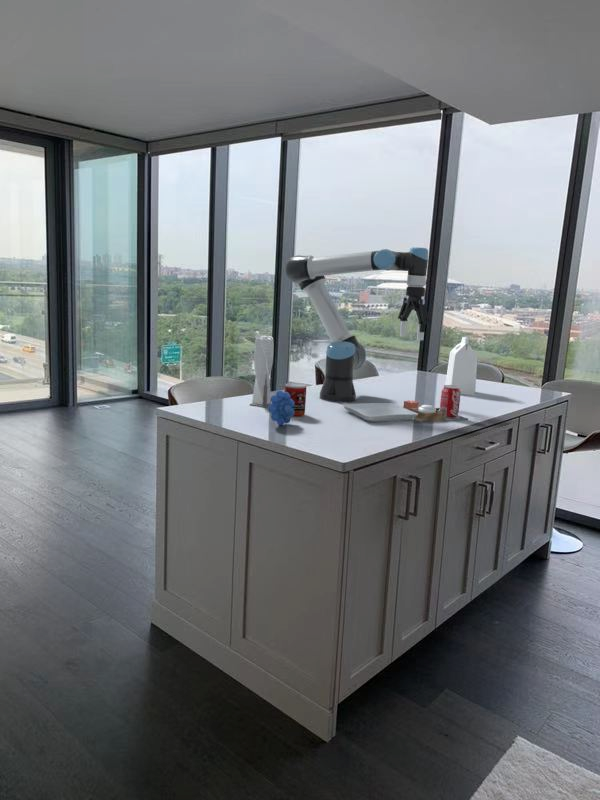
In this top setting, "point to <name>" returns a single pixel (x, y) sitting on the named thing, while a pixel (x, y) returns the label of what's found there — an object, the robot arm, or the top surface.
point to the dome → (427, 409)
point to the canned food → (297, 397)
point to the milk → (462, 368)
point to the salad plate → (380, 412)
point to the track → (455, 419)
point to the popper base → (428, 415)
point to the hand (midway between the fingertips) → (411, 338)
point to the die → (410, 404)
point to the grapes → (281, 407)
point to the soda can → (450, 401)
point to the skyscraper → (262, 370)
